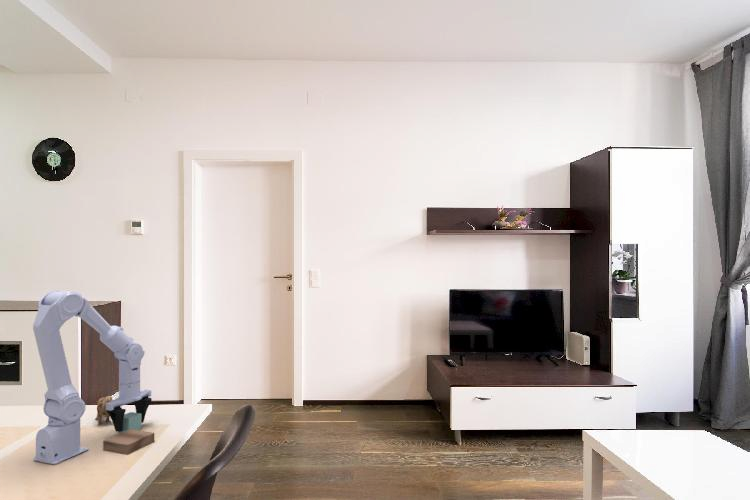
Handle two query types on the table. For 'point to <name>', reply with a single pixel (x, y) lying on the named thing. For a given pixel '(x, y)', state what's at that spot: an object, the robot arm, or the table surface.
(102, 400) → the lion figurine
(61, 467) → the table surface
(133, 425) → the teal brick
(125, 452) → the walnut base block
